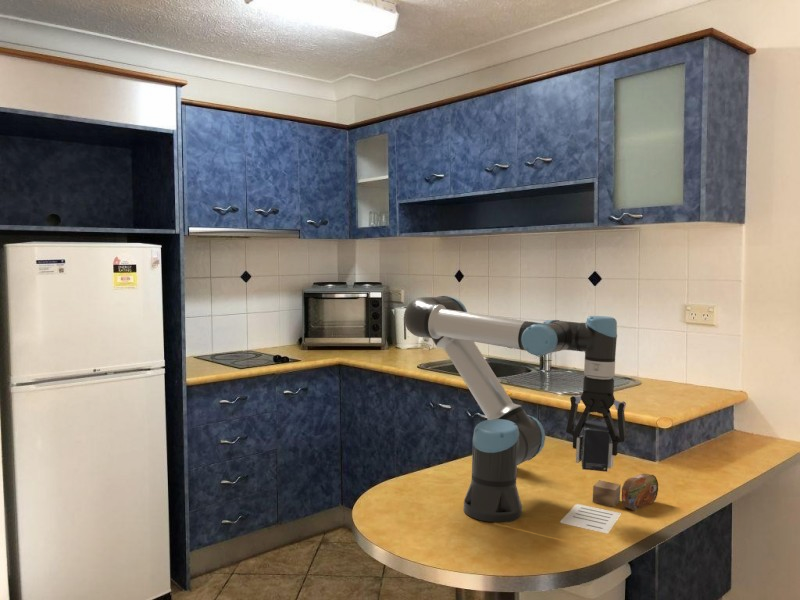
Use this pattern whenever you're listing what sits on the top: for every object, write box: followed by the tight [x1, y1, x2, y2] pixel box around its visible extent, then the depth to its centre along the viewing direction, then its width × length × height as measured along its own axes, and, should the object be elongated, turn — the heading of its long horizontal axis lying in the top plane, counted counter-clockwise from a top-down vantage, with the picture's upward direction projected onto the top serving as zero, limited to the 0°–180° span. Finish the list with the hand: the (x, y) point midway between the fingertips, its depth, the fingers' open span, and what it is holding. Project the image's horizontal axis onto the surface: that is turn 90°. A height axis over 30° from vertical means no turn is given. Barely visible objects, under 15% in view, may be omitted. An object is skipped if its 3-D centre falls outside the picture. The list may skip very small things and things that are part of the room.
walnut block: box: [592, 479, 622, 508], centre depth 184 cm, size 6×6×5 cm
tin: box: [621, 473, 659, 511], centre depth 182 cm, size 15×3×8 cm, turn 129°
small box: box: [580, 420, 610, 473], centre depth 171 cm, size 11×6×10 cm, turn 166°
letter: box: [559, 503, 622, 535], centre depth 172 cm, size 12×16×1 cm
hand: (594, 464), depth 171 cm, fingers closed on small box, 7 cm apart
